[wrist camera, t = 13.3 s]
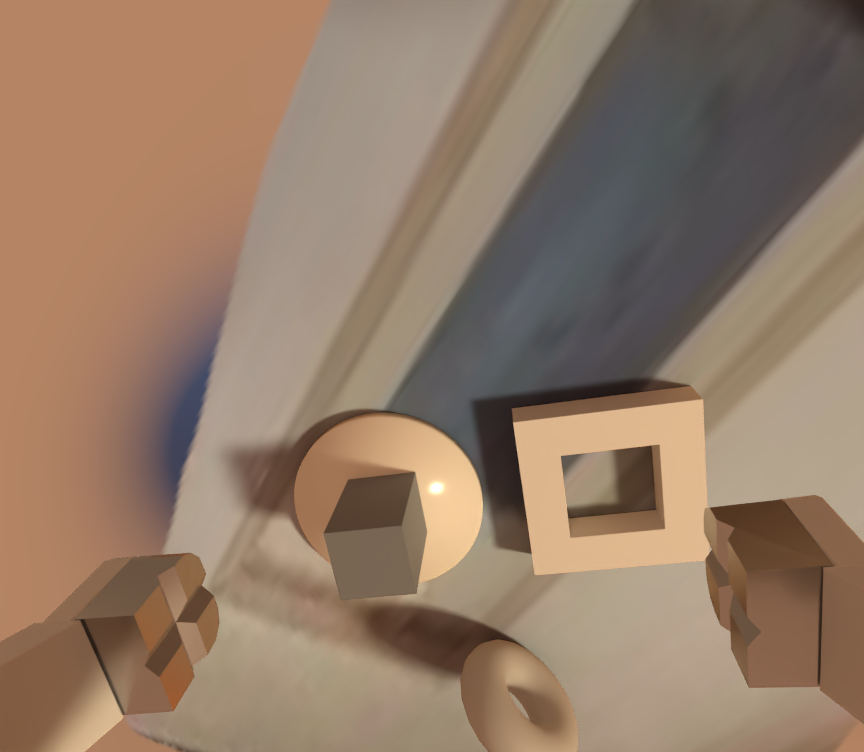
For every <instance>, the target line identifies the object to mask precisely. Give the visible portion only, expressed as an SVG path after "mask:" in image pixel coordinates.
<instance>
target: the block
mask: <svg viewBox="0 0 864 752" xmlns="http://www.w3.org/2000/svg"><path fill="white" fill-rule="evenodd" d="M323 534H324V538H325V542H326V546H327V550H328V554H329V557H330V561H331V565H332V569H333V573H334V576H335V580H336V584H337V588H338V592H339V596H340V599H341V600H349V599H360V598H372V597H384V596H396V595H407V594H416V593H417V587H418V582H419V576H420V571H421V565H422V559H423V554H424V548H425V542H426V537H427V528H426V523H425V518H424V513H423V508H422V503H421V498H420V493H419V488H418V483H417V478H416V473H415V472H410V473H401V474H392V475H383V476H375V477H366V478H357V479H348V481H347V483H346V485H345V487H344V490H343V492H342V494H341V496H340V498H339V501H338V503H337V505H336V507H335V509H334V511H333V514H332V516H331V518H330V520H329V522H328V524H327V527H326V529H325V531H324V533H323Z"/></svg>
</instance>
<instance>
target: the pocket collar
mask: <svg viewBox="0 0 864 752" xmlns="http://www.w3.org/2000/svg"><path fill="white" fill-rule="evenodd" d="M512 416H513V426H514V433H515V440H516V447H517V454H518V461H519V468H520V475H521V481H522V488H523V495H524V502H525V509H526V516H527V523H528V530H529V537H530V544H531V551H532V558H533V565H534V572H535V575H543V574H555V573H566V572H578V571H589V570H601V569H612V568H624V567H635V566H647V565H658V564H670V563H681V562H693V561H704V560H705V558H706V557H707V556H708V555H709V542H708V540H707V538H706V536H705V534H704V519H703V518H704V510H705V508H707V487H706V463H705V438H704V413H703V399H702V398H701V397H700V395H699V394H698V393H697V392H696V391H695V390H694V389H693V388H692V387H691V386H686V387H678V388H670V389H662V390H654V391H646V392H638V393H630V394H622V395H615V396H607V397H599V398H591V399H583V400H575V401H567V402H559V403H551V404H543V405H535V406H527V407H519V408H512ZM651 445H652V459H653V473H654V487H655V502H656V510H649V511H639V512H629V513H619V514H609V515H599V516H589V517H578V518H568V514H567V506H566V497H565V489H564V481H563V472H562V464H561V456H563V455H572V454H581V453H589V452H598V451H607V450H616V449H625V448H633V447H642V446H651Z"/></svg>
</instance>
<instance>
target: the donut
mask: <svg viewBox="0 0 864 752" xmlns="http://www.w3.org/2000/svg"><path fill="white" fill-rule="evenodd" d="M460 682H461V695H462V701H463V705H464V708H465V711H466V714H467V717H468V720H469V722H470V724H471V726H472V728H473V730H474V732H475V733H476V735H477V737H478V739H479V741H480V742H481V743H482V744H483V746H484V747H485V748H486V749H487V750H488V752H577V748H578V727H577V722H576V718H575V714H574V710H573V708H572V705H571V703H570V701H569V699H568V697H567V694H566V692H565V691H564V689H563V688H562V686H561V684H560V683H559V681H558V680H557V678H556V677H555V675H554V674H553V673H552V672H551V671H550V670H549V669H548V667H547V666H546V665H545V664H544V663H543V662H542V661H541V660H540V659H539V658H537V657H536V656H535V655H534V654H533V653H531V652H530V651H529V650H527V649H525V648H523V647H522V646H520V645H518V644H516V643H513V642H509V641H504V640H499V639H498V640H492V641H488V642H484V643H481V644H480V645H478V646H477V647H476V648H475V649H474V650H473V651H472V652H471V653H470V654H469V655H468V657H467V658H466V660H465V663H464V667H463V671H462V675H461V679H460ZM509 692H511V693H512V694H513V695H514V696H515V697H516V698H517V699H518V700H519V701H520V703H521V704H522V705H523V707H524V709H525V710H526V712H527V714H528V716H529V719H530V720H529V719H527V718H526V717H525V716H524V715H523V714H522V713H521V711H520V710H519V709H518V708H517V706H516V705H515V703H514V701H513V700H512V698H511V696H510V693H509Z"/></svg>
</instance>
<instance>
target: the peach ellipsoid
mask: <svg viewBox="0 0 864 752" xmlns="http://www.w3.org/2000/svg"><path fill="white" fill-rule="evenodd" d="M410 472H415V473H416V478H417V483H418V488H419V493H420V498H421V503H422V508H423V513H424V518H425V523H426V528H427V537H426V542H425V548H424V554H423V559H422V565H421V571H420V576H419V582H418V583H420V582H424V581H428V580H430V579H432V578H435V577H437V576H439V575H441V574H443V573H445V572H447V571H448V570H449V569H451V568H452V567H453V566H455V565H456V564H457V563H458V562H459V561H460V560H461V559H462V558H463V557H464V556H465V555H466V554H467V552H468V551H469V550H470V548H471V547H472V545H473V543H474V541H475V540H476V537H477V535H478V532H479V529H480V525H481V520H482V509H483V496H482V487H481V483H480V479H479V476H478V474H477V471H476V469H475V466H474V465H473V463H472V461H471V459H470V458H469V456H468V455H467V454H466V452H465V451H464V450H463V448H462V447H461V446H460V445H459V444H458V443H457V442H456V441H455V440H454V439H453V438H452V437H450V436H449V435H448V434H447V433H445V432H444V431H443V430H441V429H439V428H438V427H436V426H434V425H433V424H430V423H428V422H426V421H424V420H421V419H419V418H415V417H412V416H409V415H404V414H398V413H386V412H380V413H369V414H363V415H358V416H355V417H352V418H349V419H346V420H344V421H342V422H340V423H338V424H336V425H335V426H333V427H332V428H330V429H329V430H327V431H326V432H325V433H324V434H323V435H322V436H320V437H319V438H318V439H317V441H316V442H315V443H314V444H313V445H312V447H311V448H310V450H309V451H308V453H307V454H306V456H305V458H304V459H303V461H302V463H301V465H300V468H299V470H298V472H297V476H296V480H295V487H294V505H295V510H296V515H297V518H298V521H299V524H300V526H301V528H302V530H303V532H304V534H305V536H306V538H307V539H308V541H309V542H310V544H311V545H312V546H313V547H314V549H315V550H316V551H317V552H318V553H319V554H320V555H321V556H322V557H323V558H324V559H325V560H326V561H328V562H329V563H330V564H331V561H330V557H329V554H328V550H327V546H326V542H325V538H324V534H323V533H324V531H325V529H326V527H327V524H328V522H329V520H330V518H331V516H332V514H333V511H334V509H335V507H336V505H337V503H338V501H339V498H340V496H341V494H342V492H343V490H344V487H345V485H346V483H347V481H348V479H357V478H366V477H375V476H383V475H392V474H401V473H410Z"/></svg>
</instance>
